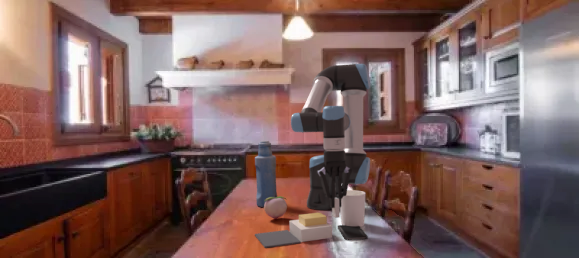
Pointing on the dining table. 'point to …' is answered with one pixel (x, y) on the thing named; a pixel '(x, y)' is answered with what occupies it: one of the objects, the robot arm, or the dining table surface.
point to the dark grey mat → (277, 238)
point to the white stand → (310, 231)
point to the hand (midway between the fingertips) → (335, 216)
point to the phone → (352, 232)
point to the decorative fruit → (275, 206)
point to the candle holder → (353, 208)
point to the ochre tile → (312, 219)
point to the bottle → (265, 173)
